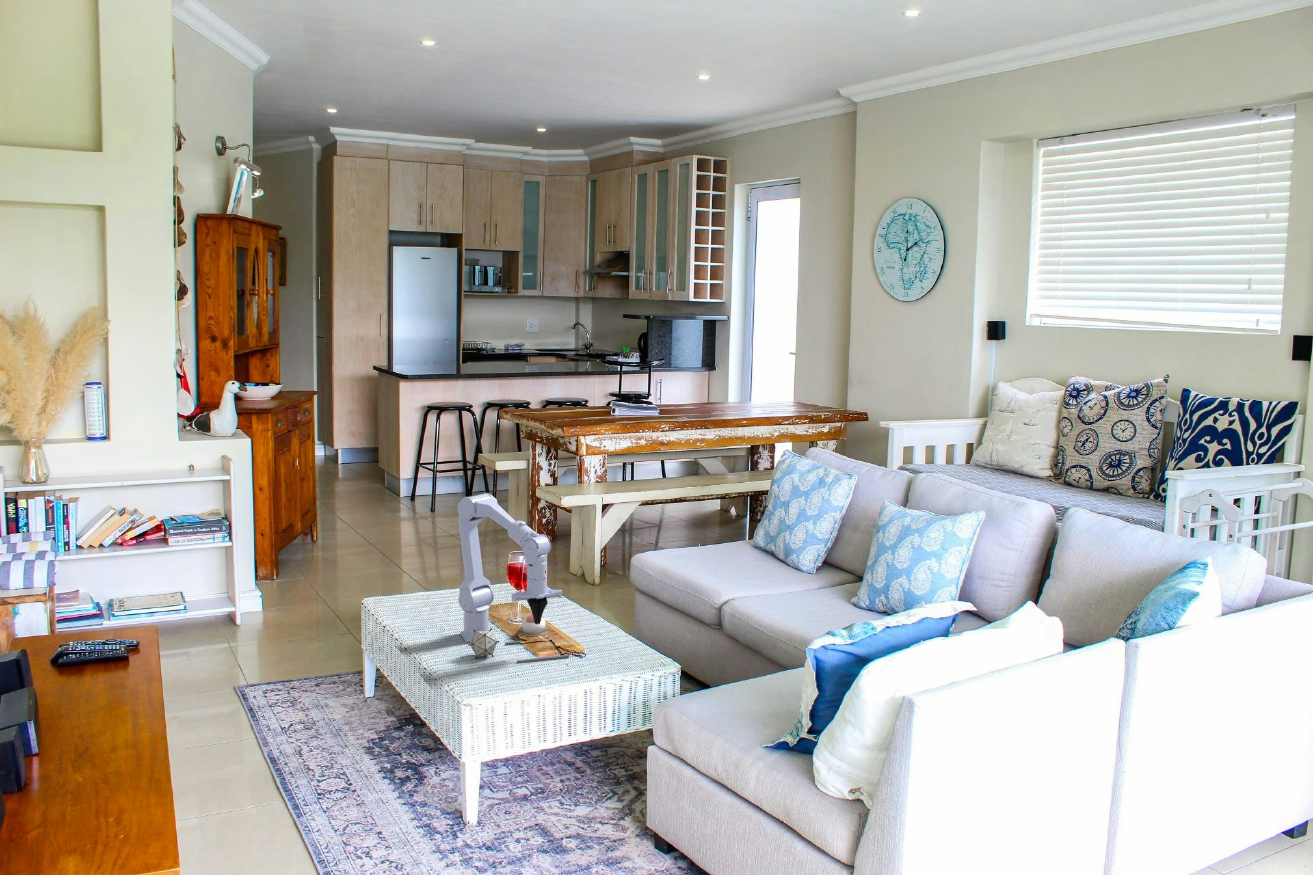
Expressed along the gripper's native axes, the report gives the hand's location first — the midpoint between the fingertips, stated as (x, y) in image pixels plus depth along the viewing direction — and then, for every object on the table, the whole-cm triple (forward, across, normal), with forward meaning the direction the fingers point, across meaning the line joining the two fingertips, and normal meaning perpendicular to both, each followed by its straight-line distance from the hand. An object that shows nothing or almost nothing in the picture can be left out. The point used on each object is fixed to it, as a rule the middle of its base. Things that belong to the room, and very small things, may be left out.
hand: (537, 623), depth 302 cm
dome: (+8, +3, +17) cm, 19 cm away
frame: (+9, 0, +3) cm, 10 cm away
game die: (+10, -15, +3) cm, 18 cm away
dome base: (+9, +3, +17) cm, 20 cm away
